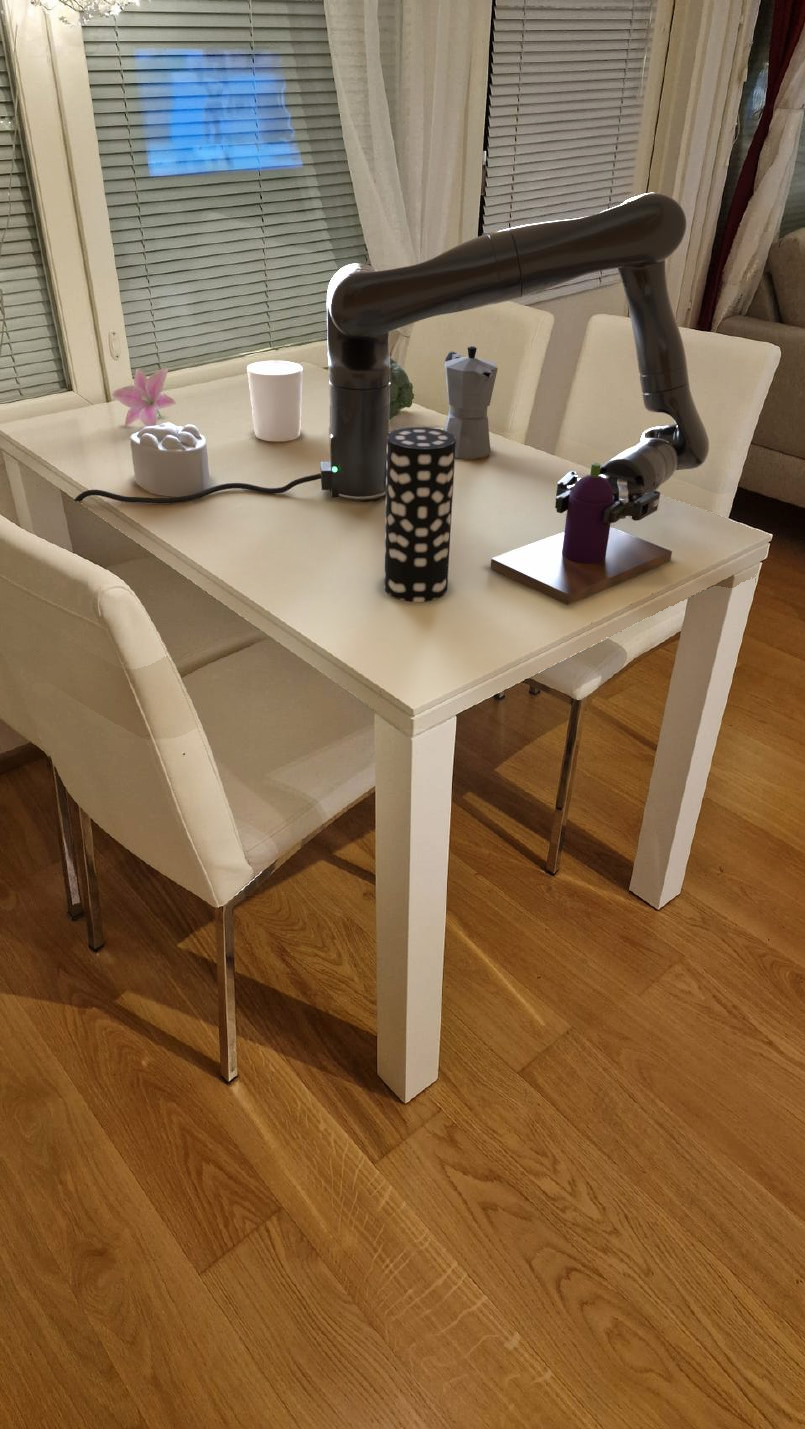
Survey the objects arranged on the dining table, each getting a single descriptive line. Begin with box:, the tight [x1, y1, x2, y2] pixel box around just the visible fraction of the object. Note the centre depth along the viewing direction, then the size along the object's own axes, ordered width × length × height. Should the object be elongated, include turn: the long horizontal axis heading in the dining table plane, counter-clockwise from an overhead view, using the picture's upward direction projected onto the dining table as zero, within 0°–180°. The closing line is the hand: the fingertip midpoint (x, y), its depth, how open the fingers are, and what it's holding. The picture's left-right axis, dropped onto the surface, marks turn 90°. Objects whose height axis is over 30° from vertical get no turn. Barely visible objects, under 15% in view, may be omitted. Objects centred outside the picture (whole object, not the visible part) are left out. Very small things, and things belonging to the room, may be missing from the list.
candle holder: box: [246, 360, 304, 443], centre depth 177 cm, size 10×10×12 cm
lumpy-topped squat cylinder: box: [129, 422, 211, 498], centre depth 156 cm, size 10×13×9 cm
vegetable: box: [389, 357, 415, 422], centre depth 188 cm, size 12×13×15 cm
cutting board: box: [490, 526, 673, 606], centre depth 136 cm, size 22×14×2 cm, turn 131°
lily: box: [111, 366, 177, 427], centre depth 182 cm, size 12×12×10 cm
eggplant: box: [562, 462, 614, 563], centre depth 132 cm, size 6×6×13 cm
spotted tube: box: [383, 426, 456, 603], centre depth 124 cm, size 8×8×20 cm
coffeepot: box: [443, 345, 498, 460], centre depth 171 cm, size 15×9×18 cm, turn 25°
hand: (582, 511), depth 130 cm, fingers open, 6 cm apart
